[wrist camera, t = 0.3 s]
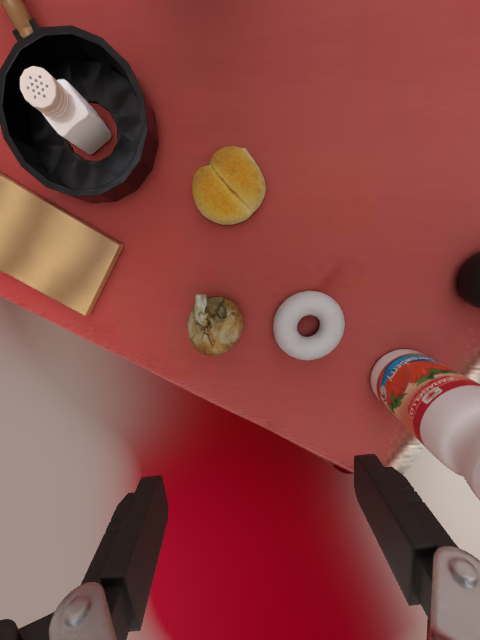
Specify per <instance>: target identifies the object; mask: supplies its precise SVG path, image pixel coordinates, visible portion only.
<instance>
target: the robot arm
mask: <svg viewBox="0 0 480 640" xmlns="http://www.w3.org/2000/svg"><path fill="white" fill-rule="evenodd" d="M354 488H355V493H356V497H357V500H358V502H359V505H360V507H361V509H362V511H363V513H364V515H365V517H366V519H367V521H368V523H369V525H370V527H371V529H372V531H373V533H374V535H375V537H376V539H377V541H378V543H379V545H380V547H381V549H382V551H383V553H384V556H385V557H386V560H387V561H388V564H389V566H390V568H391V570H392V572H393V574H394V576H395V578H396V580H397V582H398V584H399V586H400V588H401V590H402V592H403V594H404V596H405V598H406V600H407V602H408V604H409V605H419V604H421V606H422V607H423V609H424V611H425V613H426V615H427V617H428V621H427V639H426V640H480V561H479V560H478V559H477V558H475V557H474V556H472V555H471V554H469V553H468V552H466V551H463V550H461V549H459V548H458V547H457V545H456V544H455V543H454V542H453V540H452V539H451V538H450V536H449V535H448V534H447V532H446V531H445V530H444V528H443V527H442V526H441V524H440V523H439V522H438V521H437V519H436V518H435V516H434V515H433V514H432V512H431V511H430V510H429V508H428V507H427V506H426V504H425V503H424V502H422V499H421V498H420V496H419V495H418V494H417V492H415V491H414V488H413V487H412V486H411V485H410V483H409V482H408V480H407V479H406V478H405V477H404V476H403V475H402V474H400V473H399V472H398V471H397V470H395V469H394V468H393V467H384V466H383V465H382V463H381V462H380V460H379V459H378V458H377V456H376V455H375V454H367V455H357V456H355V457H354ZM167 521H168V502H167V497H166V493H165V488H164V483H163V479H162V476H160V475H159V476H149V477H142V478H141V480H140V482H139V484H138V487H137V489H136V491H135V493H128V494H127V495H126V496H125V497H124V499H123V500H122V501H121V502H120V503H119V504H118V506H117V508H116V510H115V512H114V514H113V516H112V519H111V522H110V523H109V525H108V527H107V530H106V533H105V534H104V536H103V538H102V540H101V542H100V545H99V547H98V549H97V551H96V554H95V555H94V558H93V560H92V562H91V564H90V566H89V568H88V571H87V573H86V575H85V577H84V579H83V581H82V583H81V585H80V586H79V587H77V588H75V589H74V590H73V591H71V592H70V593H69V594H68V595H67V596H66V597H65V598H64V599H63V600H62V602H61V603H60V605H59V606H58V607H57V609H56V611H55V612H53V613H51V614H49V615H48V616H45V617H43V618H41V619H39V620H37V621H35V622H33V623H30V624H28V625H26V626H24V627H22V628H20V629H18V627H17V625H16V623H15V622H14V621H12V620H9V619H4V620H0V640H126V639H127V635H128V632H130V631H140V630H141V626H142V622H143V618H144V613H145V609H146V605H147V601H148V597H149V593H150V589H151V585H152V581H153V577H154V573H155V569H156V565H157V561H158V557H159V553H160V549H161V545H162V541H163V537H164V533H165V529H166V525H167Z"/></svg>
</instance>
